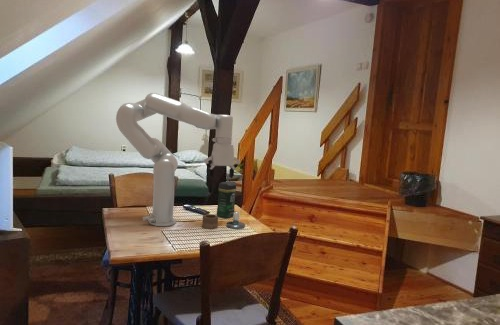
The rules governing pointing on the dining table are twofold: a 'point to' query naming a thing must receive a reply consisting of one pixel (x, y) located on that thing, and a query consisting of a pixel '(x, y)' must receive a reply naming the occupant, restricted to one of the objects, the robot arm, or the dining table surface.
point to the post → (235, 222)
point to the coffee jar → (226, 199)
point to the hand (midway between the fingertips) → (221, 177)
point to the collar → (210, 221)
